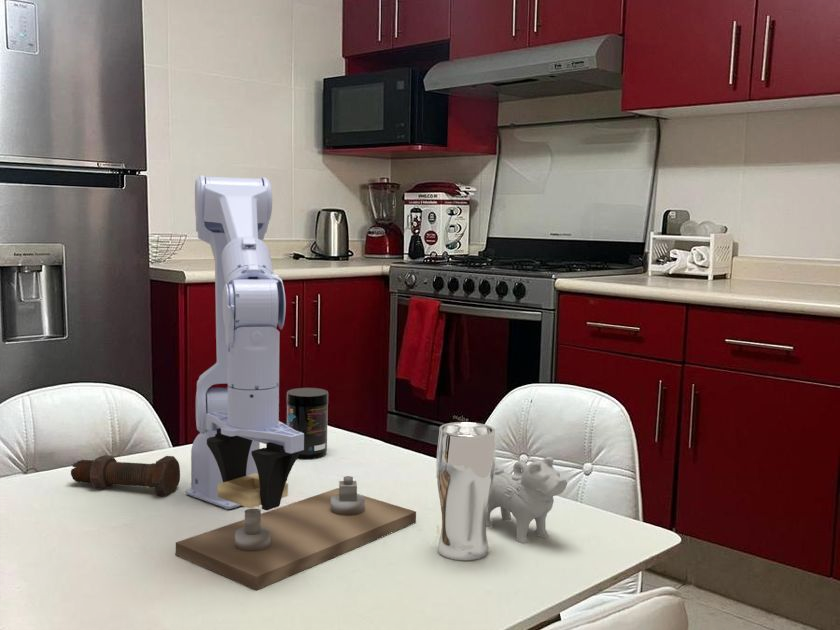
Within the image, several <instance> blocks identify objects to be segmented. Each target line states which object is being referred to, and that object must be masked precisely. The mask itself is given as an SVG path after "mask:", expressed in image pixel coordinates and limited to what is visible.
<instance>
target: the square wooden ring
mask: <svg viewBox="0 0 840 630" xmlns="http://www.w3.org/2000/svg"><path fill="white" fill-rule="evenodd" d="M288 493H289V484H288V482H286V484H285V487H284V490H283V494H282V498H281V499H283V498H287V497H289V494H288ZM218 497H219V498H222V499H225V500H228V501H231V502H233V503H236V504H239V505H241V506H242V507H245V508H247V509H254V508H257V507H259V506H261V499H260V482H259V476H258V474H256V473H255V474H251V475H248V476H244V477H241V478H237V479H234V480H230V481H227V482H223V483H220V484H218Z"/></svg>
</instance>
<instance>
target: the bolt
mask: <svg viewBox="0 0 840 630" xmlns="http://www.w3.org/2000/svg"><path fill="white" fill-rule="evenodd" d="M180 466H181V465H180V463H179V461H178V459H177V458H176V457H175V456H174V455H164V457H162V458H160V459H158V460H156V461H155V462H153V463H143V462H125V461H124V462H122V461H117V459H116V458H115V457H114V455H109V454H105V455H100V456H98V457H96V458H95V459H94V460H90V459H89V460H88V459H80V460H78V461H76V462H74V463H73V464H72V468H71V470H70V476H71V477H72V480H73V481H74V482H77V483H86V484H91V485H92V486H93V488H94V489H95V490H106V489H107V490H108V489H110V488H112V487H114V486H115V485H117V486H118V485H119V486H128V487H131V486H133V487H146V488H147V487H148V488H151V489H154V492H155V494H156V496H157V497H168V496H170V495H173V494H174V493H175V492H176V491H177V489H178V486H179V484H180V481H181V480H180V479H181V468H180Z"/></svg>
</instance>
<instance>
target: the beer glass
mask: <svg viewBox="0 0 840 630" xmlns="http://www.w3.org/2000/svg"><path fill="white" fill-rule="evenodd" d="M495 431H496V430H495V428H494V427H493V426H490V425H488V424H484V423H479V422H471V421H455V422H449V423H445V424H442V425H440V426H439V432H438V438H437V439H438V440H437V449H436V462H435V463H436V480H437V481H436V483H437V489H438V497H439V504H440V511H441V512H440V513H441V530H440V534H439V540H438V544H437V552H438V554H440V555H441V556H443V557H445V558H447V559H450V560H454V561H464V562H468V561H476V560H477V561H478V560H480V559H482V558H485V557H486V556H487V555H488V553H489V544H488V538H487V537H488V536H487V527H486V517H487V511H488V506H489V502H490V497H491V493H492V488H493V482H494V476H495V466H496V438H495V437H496V435H495V433H496V432H495Z"/></svg>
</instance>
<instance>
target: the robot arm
mask: <svg viewBox="0 0 840 630" xmlns="http://www.w3.org/2000/svg"><path fill="white" fill-rule="evenodd" d="M272 211H273V188H272V184H271V181H269V180H268V178H267V177H260V178H252V177H228V176H227V177H226V176H225V177H222V176H205V175H203V174H201V175H199V176H198V177H197V178H196V179H195V183H194V213H195V231H196V232H197V239H199V240H201V241H203V242H204V243H207V244H209V246H210V248H211V252H212V254H213V255H212V256H213V258H214V281H215V283H214V286H215V289H214V290H215V339H216V344H215V345H216V346H215V347H216V362H215V363H214V364H213V365H212V366H210V367H209V368H208V369H207V370H205V371H203V373H202V374H200V375H199V377H198V380H197V381H196V392H195V393H196V394H195V422H196V425H195V426H196V430H197V431H198V432H199V433H198V434H197V436H196V437H195V439H194V440H193V442H192V446H191V450H190V451H191V452H190V454H191V455H190V457H191V458H190V459H191V460H190V462H191V463H190V472H191V473H190V474H191V475H190V477H191V481H190V482H191V484H190V485H191V487H190V488H191V489H187V490H186V492H185V494H186V495H187V496H188V495H189V496H191V497H194V498H196V499H199V500H202V501H205V502H207V503H210V504H213V505H216V506H217V507H221V508H224V509H227V510H232V509H235V508H238V507H241V506H242V505H239V504H236V503H233V502H231V501H228V500H225V499H222V498H219V497H218V484H220V483H223V482H227V481H230V480H234V479H237V478H241V477H244V476H248V475H251V474H255V473H256V474H258V476H259V482H260V499H261V505H260V506H261V508H262V510H263V511H271V510H274V509H277V508H280V507H281V501H282V499H283V498H282V494H283V490H284V487H285V484H286V483H287V481H288V478H289V474H290V473H291V471H292V469H293V467H294V465H295V462H296V461H297V460H298V459H299V458H298V456H299V455H300V453H301V451H302V450H304V433H301V432H298V431H296V430H294V429H292V428H290V427H289V426H287V424H286V423H284V422H282V421H280V420H279V419H280V417H279V416H280V415H279V412H280V406H279V405H280V335H281V334H280V331H279V330H278V329H277V327H278V328H279V329H280V330H283V327H284V326H285V320H286V319H285V318H286V309H287V307H286V305H287V301H286V293H285V286H284V282H283V280H282V279H283V278H281V277H279V275H278V274H275V272H274V268H273V263H272V262H273V261H272V257H271V252H270V249H269V247H268V245H267V244H266V242H264V240H265V239H264V238H265V235H266V233H267V232H268V227H269V224H270V221H271V218H272V214H273V213H272ZM226 384H227V386H226V387H212V386H214V385H226ZM261 443H262V444H265V445H266V447H262V448H260V446H261V445H260V444H261Z"/></svg>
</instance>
